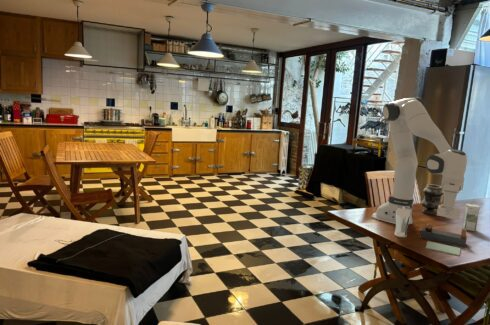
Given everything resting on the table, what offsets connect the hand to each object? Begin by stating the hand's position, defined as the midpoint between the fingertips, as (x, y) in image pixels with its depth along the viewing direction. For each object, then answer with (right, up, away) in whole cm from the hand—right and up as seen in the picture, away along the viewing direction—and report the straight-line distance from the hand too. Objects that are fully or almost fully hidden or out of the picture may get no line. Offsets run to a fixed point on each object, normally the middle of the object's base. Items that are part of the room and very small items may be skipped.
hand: (448, 213), depth 169 cm
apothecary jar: (+25, -9, +65) cm, 70 cm away
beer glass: (-14, -14, +18) cm, 27 cm away
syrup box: (+31, -14, +34) cm, 49 cm away
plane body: (+5, -16, +14) cm, 22 cm away
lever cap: (0, -1, 0) cm, 1 cm away
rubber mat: (-1, -17, +3) cm, 18 cm away
